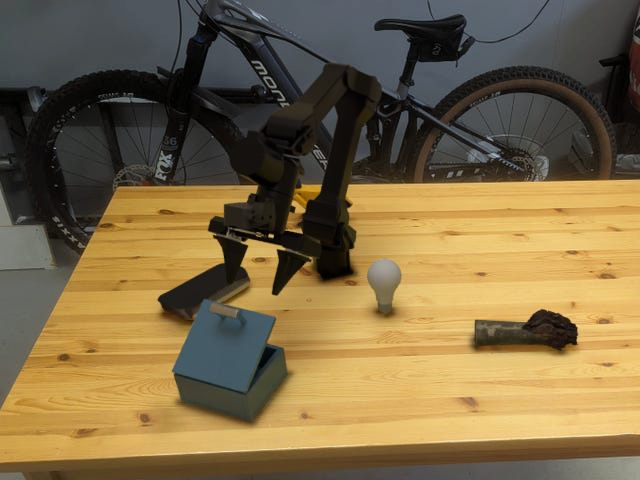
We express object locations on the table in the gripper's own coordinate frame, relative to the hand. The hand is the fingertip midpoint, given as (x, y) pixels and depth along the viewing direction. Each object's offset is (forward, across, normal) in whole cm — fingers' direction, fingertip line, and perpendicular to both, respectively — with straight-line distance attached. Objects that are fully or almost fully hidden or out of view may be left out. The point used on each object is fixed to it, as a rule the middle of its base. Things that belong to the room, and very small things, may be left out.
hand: (251, 289), depth 105 cm
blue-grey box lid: (+9, +2, -5) cm, 10 cm away
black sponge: (+4, -19, +13) cm, 24 cm away
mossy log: (-3, +37, +29) cm, 48 cm away
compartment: (+16, +1, +1) cm, 16 cm away
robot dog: (-18, -19, +38) cm, 46 cm away
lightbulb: (-2, +12, +24) cm, 27 cm away
